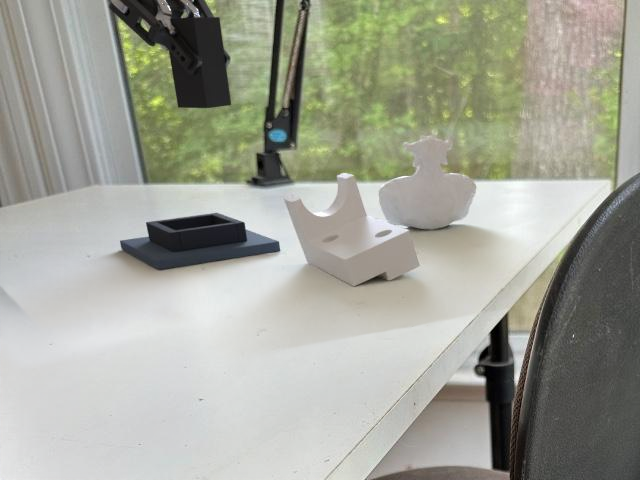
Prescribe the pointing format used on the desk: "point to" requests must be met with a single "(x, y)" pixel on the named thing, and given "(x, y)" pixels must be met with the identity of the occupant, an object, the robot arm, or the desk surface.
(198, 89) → the tall black rectangular peg
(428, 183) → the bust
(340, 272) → the bracket
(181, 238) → the base pad
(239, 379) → the desk surface
